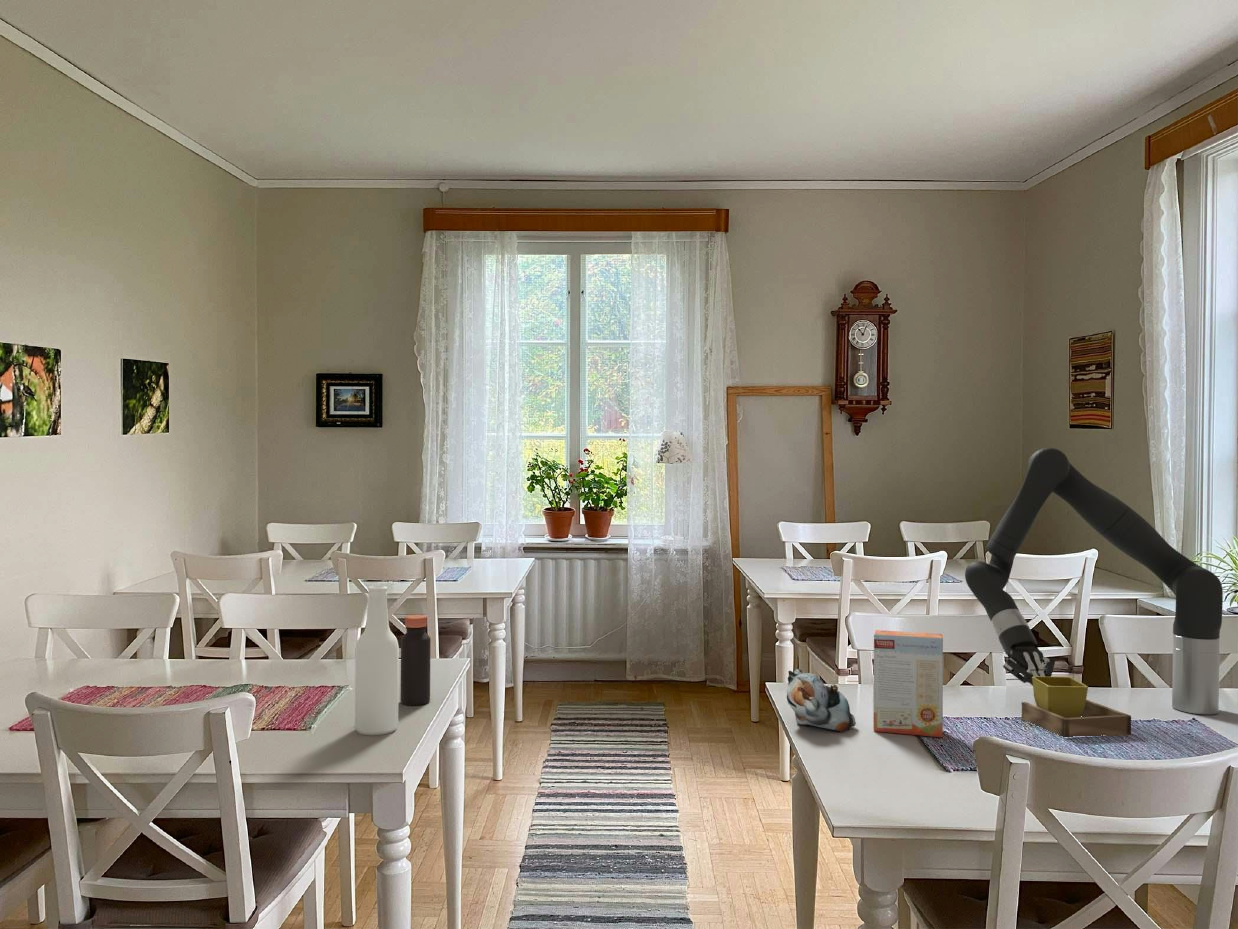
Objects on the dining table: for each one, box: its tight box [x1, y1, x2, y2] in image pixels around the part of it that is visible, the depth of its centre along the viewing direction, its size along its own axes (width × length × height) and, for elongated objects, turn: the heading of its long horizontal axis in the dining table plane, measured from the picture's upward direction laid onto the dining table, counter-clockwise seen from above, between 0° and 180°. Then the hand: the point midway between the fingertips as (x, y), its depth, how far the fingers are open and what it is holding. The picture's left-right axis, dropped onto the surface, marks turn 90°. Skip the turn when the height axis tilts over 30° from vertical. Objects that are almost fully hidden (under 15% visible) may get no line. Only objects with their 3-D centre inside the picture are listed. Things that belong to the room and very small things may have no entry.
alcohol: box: [354, 585, 400, 736], centre depth 193 cm, size 9×9×30 cm
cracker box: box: [872, 629, 944, 738], centre depth 196 cm, size 14×6×21 cm, turn 71°
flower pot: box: [1032, 676, 1089, 718], centre depth 204 cm, size 9×9×9 cm
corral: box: [1021, 699, 1132, 737], centre depth 200 cm, size 14×16×4 cm
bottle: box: [399, 614, 432, 706], centre depth 216 cm, size 7×7×20 cm
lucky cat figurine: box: [786, 668, 857, 733], centre depth 200 cm, size 15×12×14 cm
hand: (1046, 697), depth 209 cm, fingers closed
